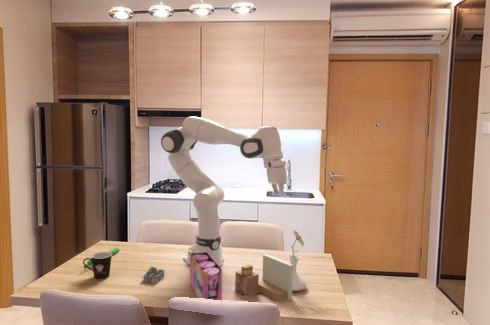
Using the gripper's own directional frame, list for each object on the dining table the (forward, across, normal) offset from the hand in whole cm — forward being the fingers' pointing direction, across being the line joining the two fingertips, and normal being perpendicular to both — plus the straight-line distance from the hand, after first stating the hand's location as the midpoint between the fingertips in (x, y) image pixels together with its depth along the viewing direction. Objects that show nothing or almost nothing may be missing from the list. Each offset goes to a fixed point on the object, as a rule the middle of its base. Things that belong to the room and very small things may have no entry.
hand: (278, 194), depth 163 cm
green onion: (+22, -40, -86) cm, 97 cm away
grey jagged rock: (+30, -16, -60) cm, 68 cm away
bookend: (+40, +5, -11) cm, 42 cm away
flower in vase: (+41, 0, 0) cm, 41 cm away
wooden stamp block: (+38, +2, -21) cm, 43 cm away
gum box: (+35, +2, -38) cm, 52 cm away
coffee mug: (+25, -20, -84) cm, 90 cm away
